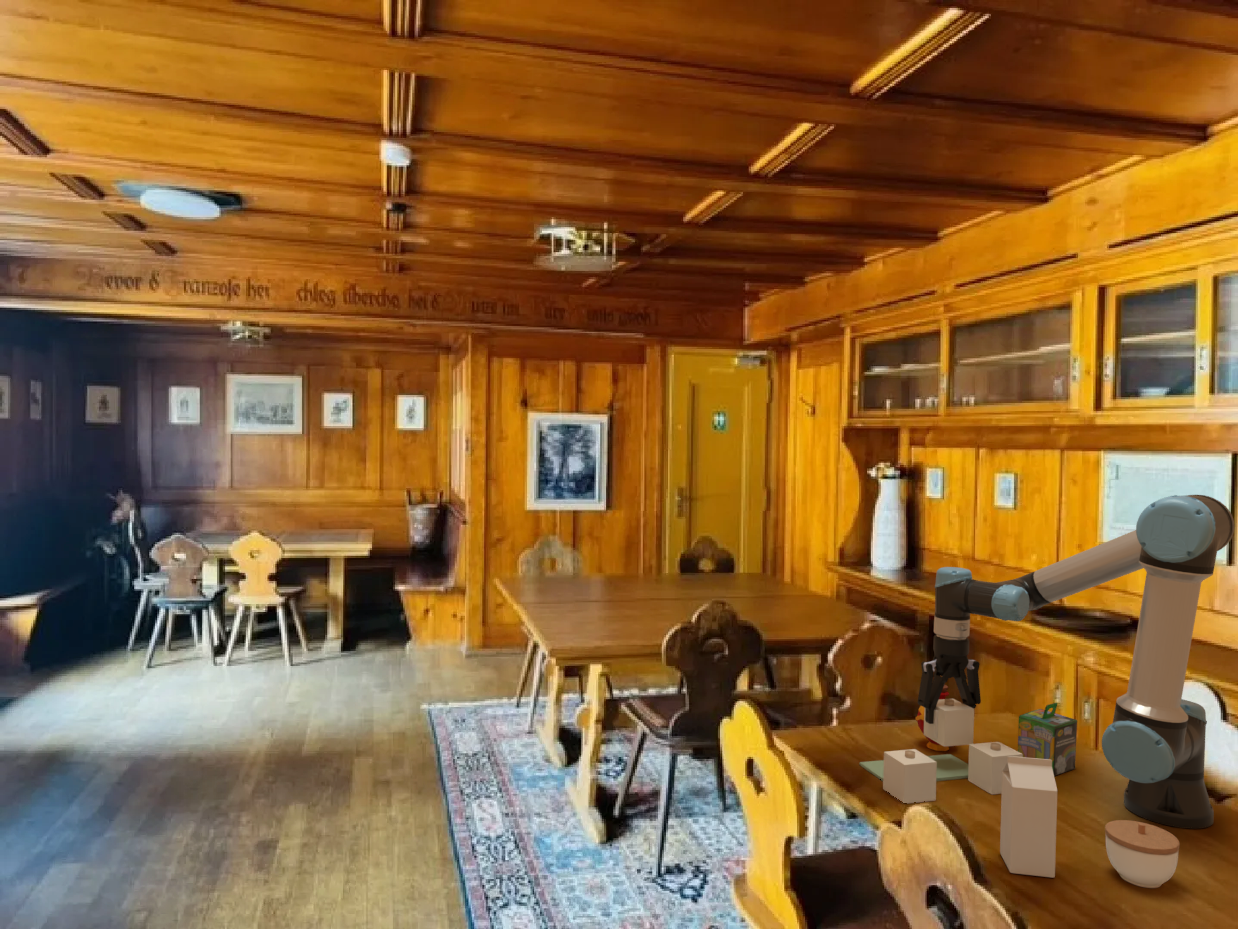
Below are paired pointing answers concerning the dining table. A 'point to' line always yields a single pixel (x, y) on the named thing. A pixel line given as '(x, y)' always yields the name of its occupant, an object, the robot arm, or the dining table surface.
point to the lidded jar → (1141, 852)
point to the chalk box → (1048, 738)
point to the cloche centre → (953, 723)
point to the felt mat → (946, 770)
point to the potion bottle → (920, 721)
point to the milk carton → (1028, 816)
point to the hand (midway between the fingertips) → (948, 735)
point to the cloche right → (989, 765)
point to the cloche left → (909, 776)
